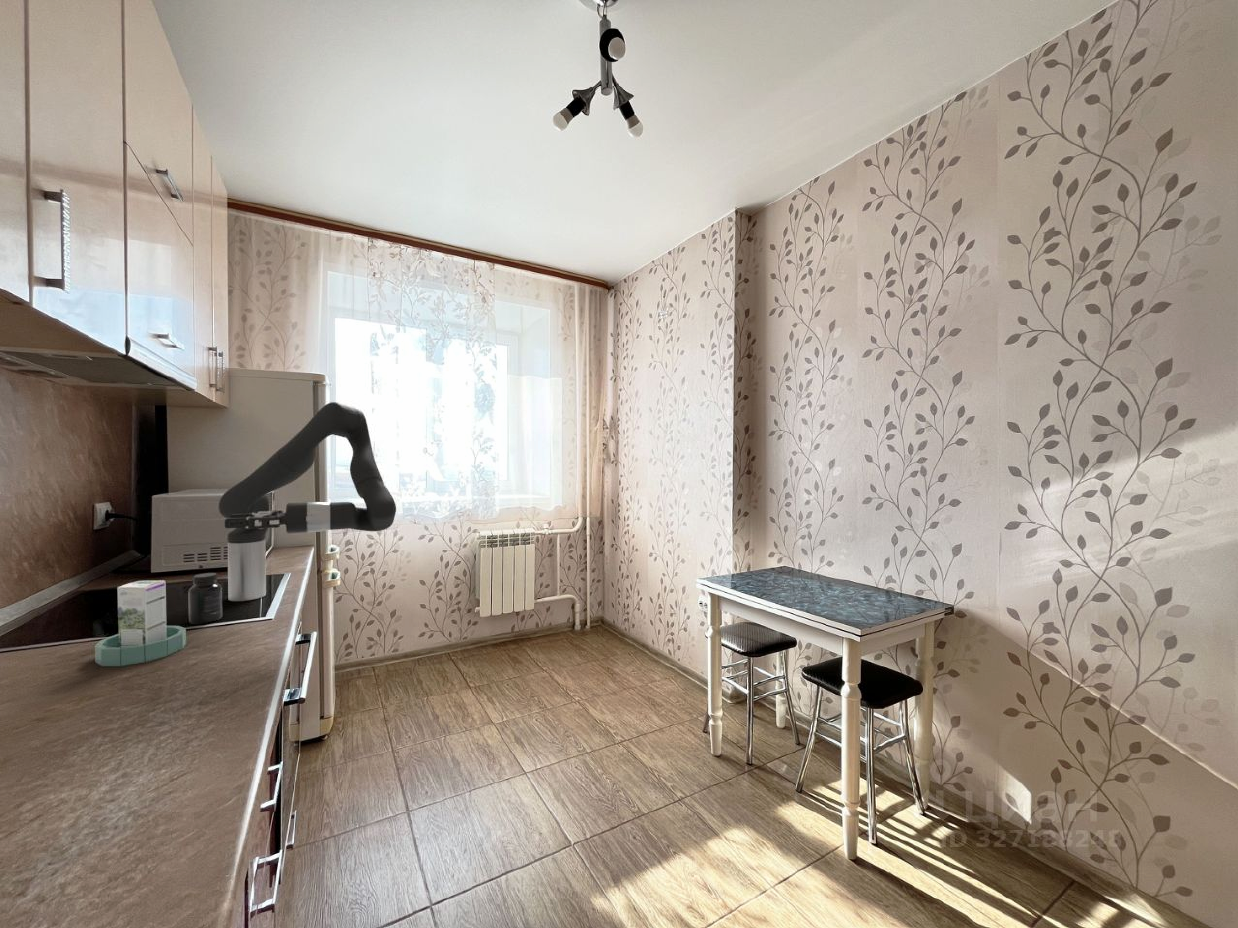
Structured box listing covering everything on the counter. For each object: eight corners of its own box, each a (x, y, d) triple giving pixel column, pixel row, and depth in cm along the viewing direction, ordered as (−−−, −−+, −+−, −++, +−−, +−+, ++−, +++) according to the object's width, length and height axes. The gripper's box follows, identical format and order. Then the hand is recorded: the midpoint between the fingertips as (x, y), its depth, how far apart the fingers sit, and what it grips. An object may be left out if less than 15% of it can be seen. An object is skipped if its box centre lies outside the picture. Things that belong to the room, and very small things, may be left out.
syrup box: (168, 643, 113) (167, 579, 113) (145, 653, 107) (144, 586, 107) (141, 643, 113) (140, 579, 112) (117, 654, 107) (115, 586, 106)
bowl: (109, 648, 112) (109, 632, 112) (190, 636, 120) (190, 621, 120) (85, 671, 100) (85, 654, 100) (177, 656, 108) (176, 640, 108)
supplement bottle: (182, 623, 129) (181, 576, 129) (210, 614, 136) (209, 570, 135) (201, 625, 127) (200, 578, 127) (228, 617, 134) (228, 572, 133)
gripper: (309, 499, 132) (231, 502, 124) (308, 505, 120) (222, 508, 111) (309, 528, 132) (232, 532, 124) (308, 536, 120) (223, 541, 112)
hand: (227, 521), depth 118 cm, fingers open, 8 cm apart
